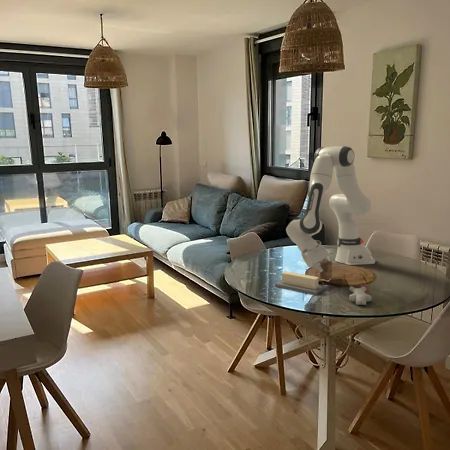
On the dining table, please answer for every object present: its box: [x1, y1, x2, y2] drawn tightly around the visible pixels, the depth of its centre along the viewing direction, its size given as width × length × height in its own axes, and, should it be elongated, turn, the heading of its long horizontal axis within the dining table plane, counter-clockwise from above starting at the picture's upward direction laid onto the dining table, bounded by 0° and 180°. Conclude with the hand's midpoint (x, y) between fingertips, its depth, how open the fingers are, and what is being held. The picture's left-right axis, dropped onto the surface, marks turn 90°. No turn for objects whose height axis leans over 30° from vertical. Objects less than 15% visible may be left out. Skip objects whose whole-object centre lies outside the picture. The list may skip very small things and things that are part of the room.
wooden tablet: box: [352, 283, 371, 293], centre depth 223 cm, size 26×2×10 cm
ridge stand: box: [274, 270, 326, 296], centre depth 218 cm, size 22×10×6 cm, turn 54°
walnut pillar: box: [319, 260, 333, 280], centre depth 227 cm, size 4×4×10 cm
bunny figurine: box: [348, 286, 372, 306], centre depth 201 cm, size 10×5×15 cm
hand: (326, 268), depth 226 cm, fingers open, 8 cm apart
